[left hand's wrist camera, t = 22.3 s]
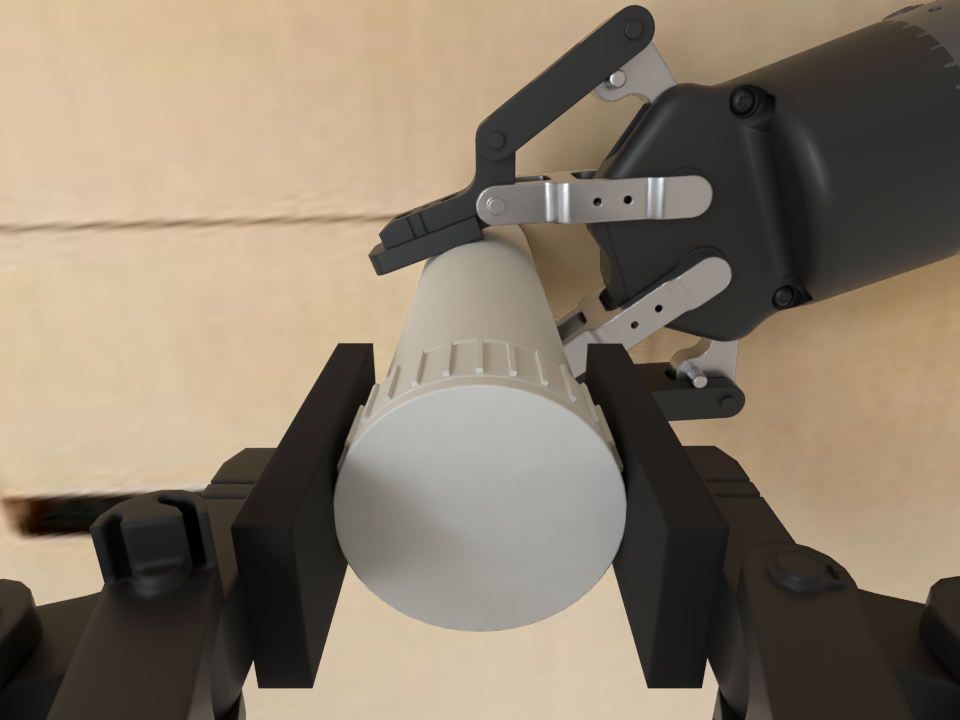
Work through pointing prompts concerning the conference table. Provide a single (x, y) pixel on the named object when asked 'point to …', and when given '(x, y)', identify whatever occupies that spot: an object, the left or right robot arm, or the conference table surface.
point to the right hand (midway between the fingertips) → (407, 325)
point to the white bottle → (481, 300)
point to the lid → (480, 489)
